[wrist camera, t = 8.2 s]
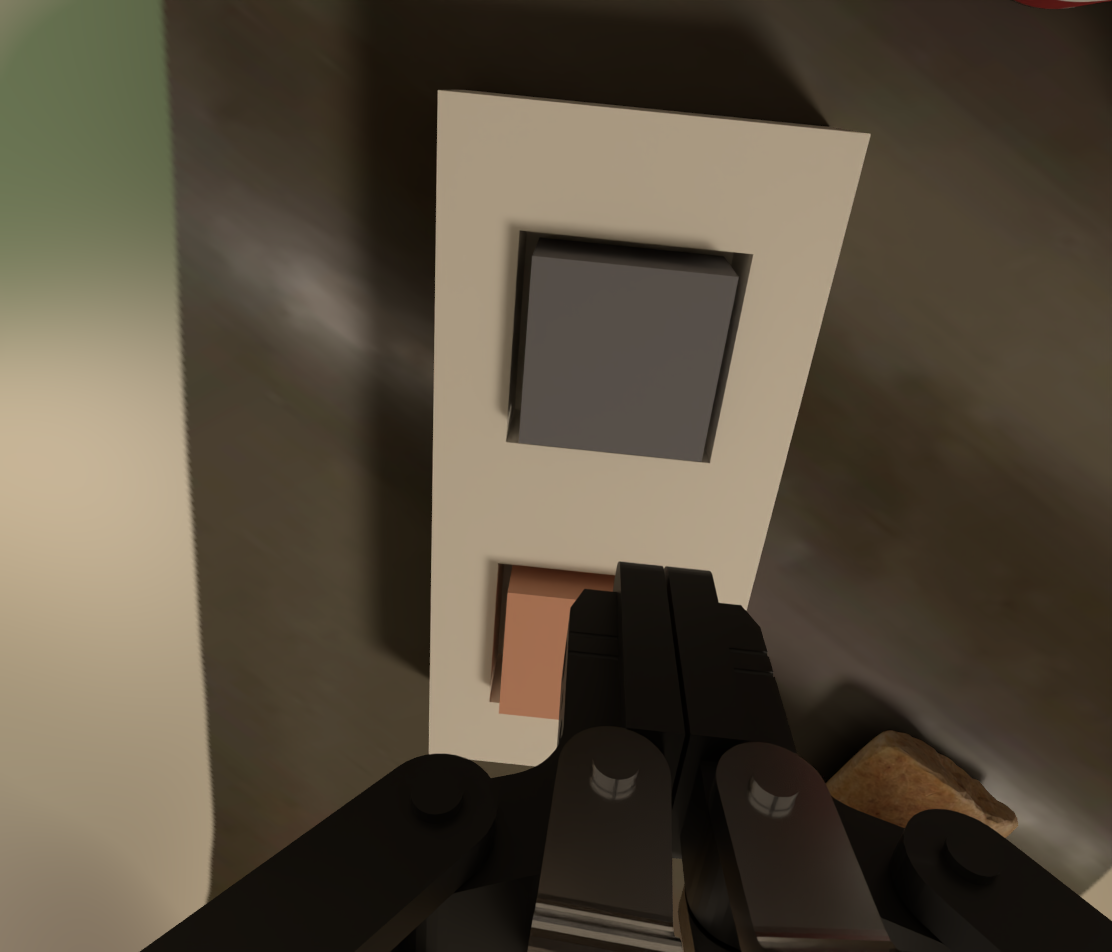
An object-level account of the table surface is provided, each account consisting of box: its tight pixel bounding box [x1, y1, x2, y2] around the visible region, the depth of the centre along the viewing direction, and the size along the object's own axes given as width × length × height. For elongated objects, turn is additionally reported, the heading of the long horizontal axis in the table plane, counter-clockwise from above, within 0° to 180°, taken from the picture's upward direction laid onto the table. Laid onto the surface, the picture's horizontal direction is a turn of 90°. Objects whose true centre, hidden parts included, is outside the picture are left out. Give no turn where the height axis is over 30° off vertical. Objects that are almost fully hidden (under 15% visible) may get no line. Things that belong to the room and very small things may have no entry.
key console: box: [429, 90, 871, 766], centre depth 28 cm, size 26×12×4 cm, turn 175°
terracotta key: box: [499, 565, 615, 720], centre depth 30 cm, size 6×6×3 cm
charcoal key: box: [519, 237, 739, 462], centre depth 24 cm, size 6×6×3 cm
